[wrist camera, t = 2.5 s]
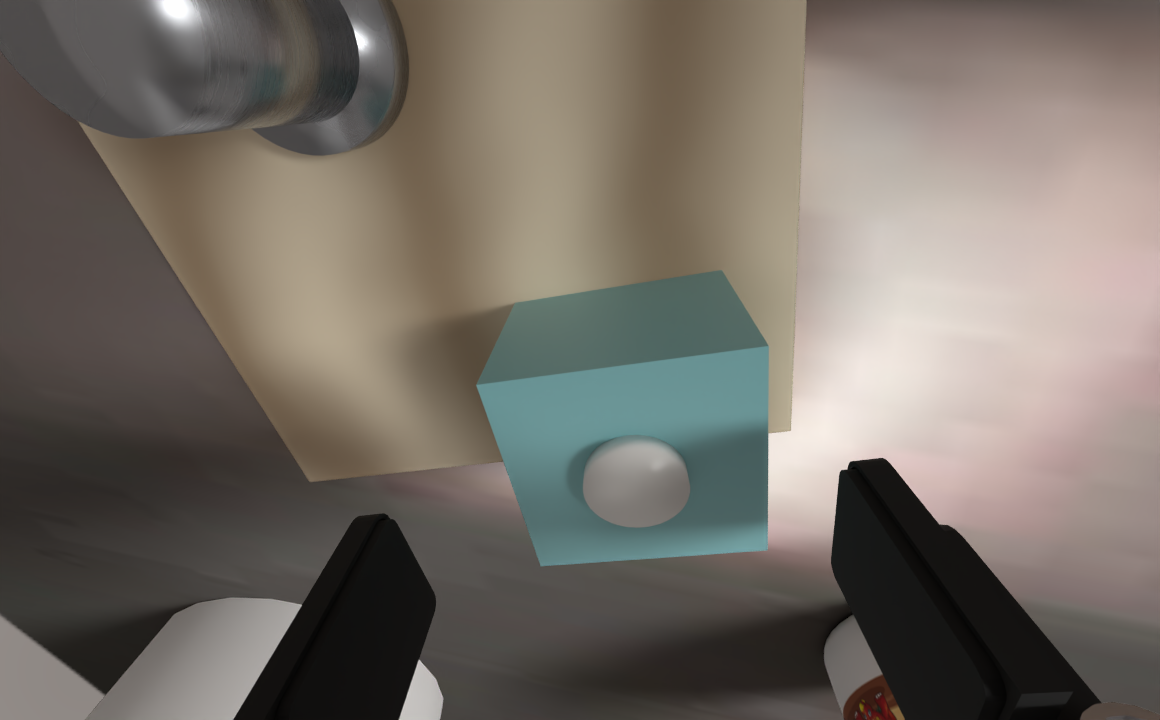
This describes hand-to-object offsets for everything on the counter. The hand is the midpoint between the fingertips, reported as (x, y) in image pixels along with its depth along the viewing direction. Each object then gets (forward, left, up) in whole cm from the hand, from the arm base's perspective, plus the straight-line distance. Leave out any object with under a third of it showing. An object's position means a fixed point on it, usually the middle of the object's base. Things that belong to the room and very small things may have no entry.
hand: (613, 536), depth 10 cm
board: (+3, -6, -7) cm, 10 cm away
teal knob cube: (-1, 0, -6) cm, 6 cm away
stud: (+5, -10, -6) cm, 13 cm away
